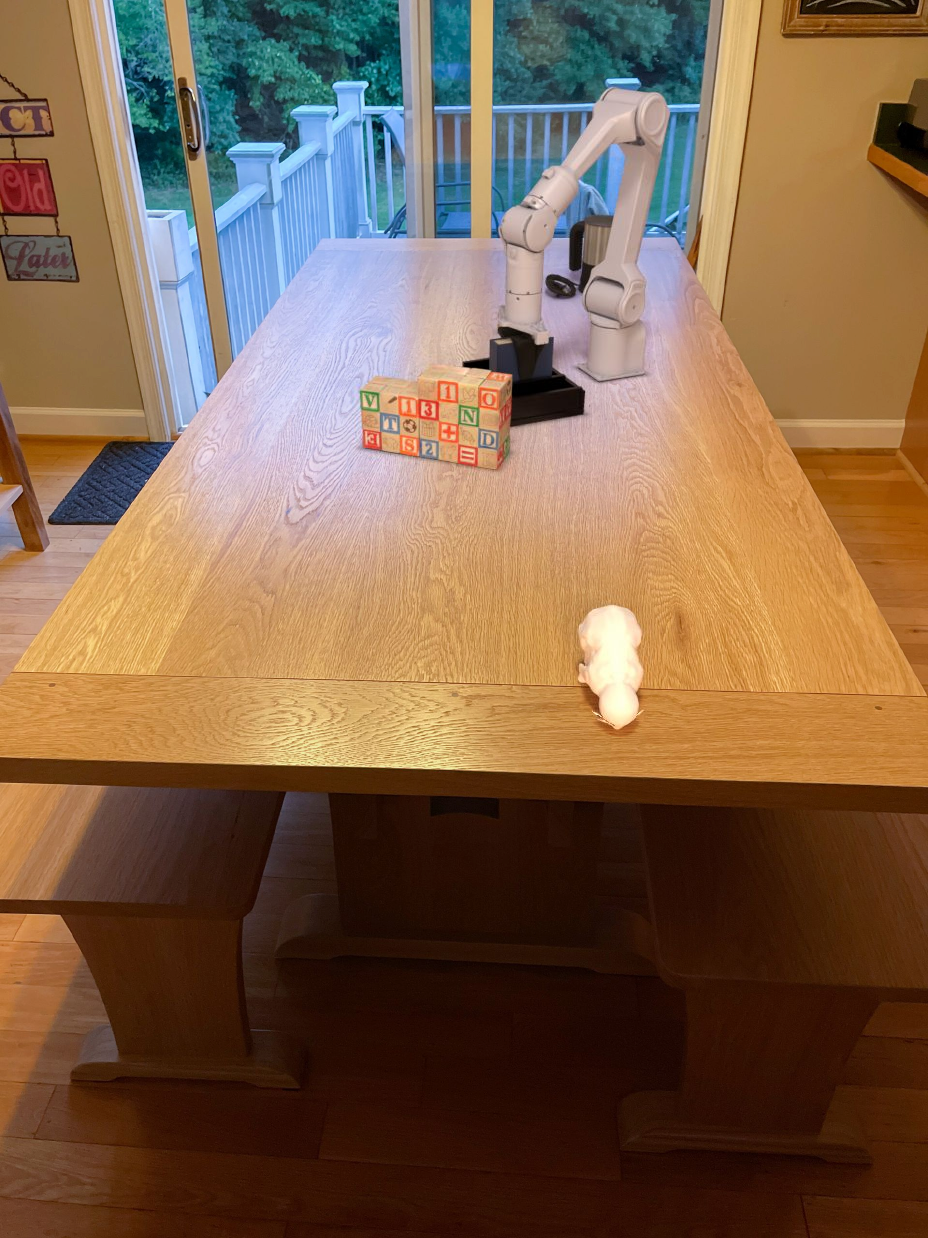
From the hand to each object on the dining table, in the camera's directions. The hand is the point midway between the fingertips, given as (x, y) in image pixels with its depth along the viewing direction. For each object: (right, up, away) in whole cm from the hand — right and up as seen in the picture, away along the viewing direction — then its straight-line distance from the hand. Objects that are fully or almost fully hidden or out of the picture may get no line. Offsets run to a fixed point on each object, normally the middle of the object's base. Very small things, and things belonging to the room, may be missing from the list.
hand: (520, 374), depth 158 cm
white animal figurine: (+5, -48, -61) cm, 78 cm away
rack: (0, -4, +3) cm, 4 cm away
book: (0, -2, +1) cm, 2 cm away
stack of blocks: (-13, -15, -14) cm, 24 cm away
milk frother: (+17, +31, +53) cm, 64 cm away
